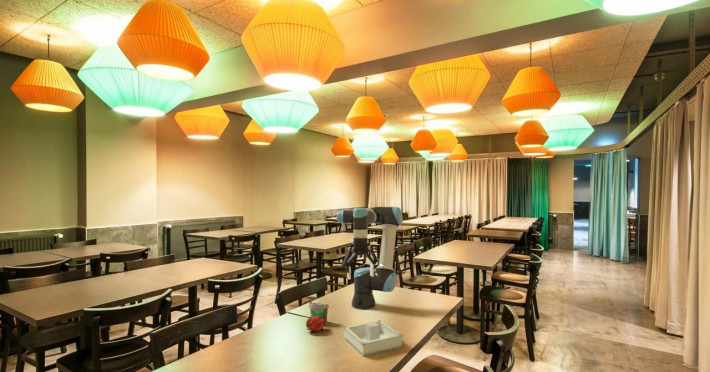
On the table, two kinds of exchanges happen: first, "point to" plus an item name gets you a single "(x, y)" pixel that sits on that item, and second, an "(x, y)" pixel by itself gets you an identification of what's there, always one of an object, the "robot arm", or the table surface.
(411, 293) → the table surface
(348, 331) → the bin
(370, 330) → the stone block
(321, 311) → the food container
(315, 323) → the dragon fruit
